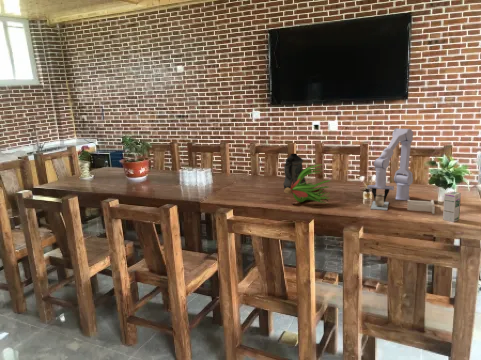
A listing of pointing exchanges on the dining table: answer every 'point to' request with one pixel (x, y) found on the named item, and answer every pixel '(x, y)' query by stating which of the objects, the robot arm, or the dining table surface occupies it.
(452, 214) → the syrup box
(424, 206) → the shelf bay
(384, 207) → the slate board
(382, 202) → the birch block
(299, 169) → the dark grey backpack
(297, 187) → the decorative plant
